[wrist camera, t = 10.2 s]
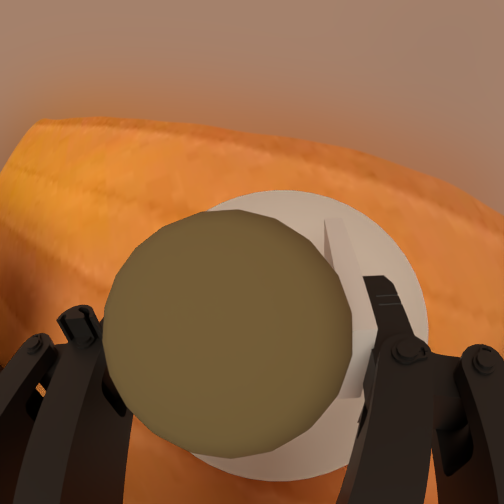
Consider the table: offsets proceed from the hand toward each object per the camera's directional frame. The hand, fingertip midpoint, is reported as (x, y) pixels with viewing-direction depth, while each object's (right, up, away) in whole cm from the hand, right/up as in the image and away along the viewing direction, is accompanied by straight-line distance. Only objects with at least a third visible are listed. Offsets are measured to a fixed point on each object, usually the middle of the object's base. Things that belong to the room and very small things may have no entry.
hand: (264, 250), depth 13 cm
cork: (+1, -5, +2) cm, 5 cm away
